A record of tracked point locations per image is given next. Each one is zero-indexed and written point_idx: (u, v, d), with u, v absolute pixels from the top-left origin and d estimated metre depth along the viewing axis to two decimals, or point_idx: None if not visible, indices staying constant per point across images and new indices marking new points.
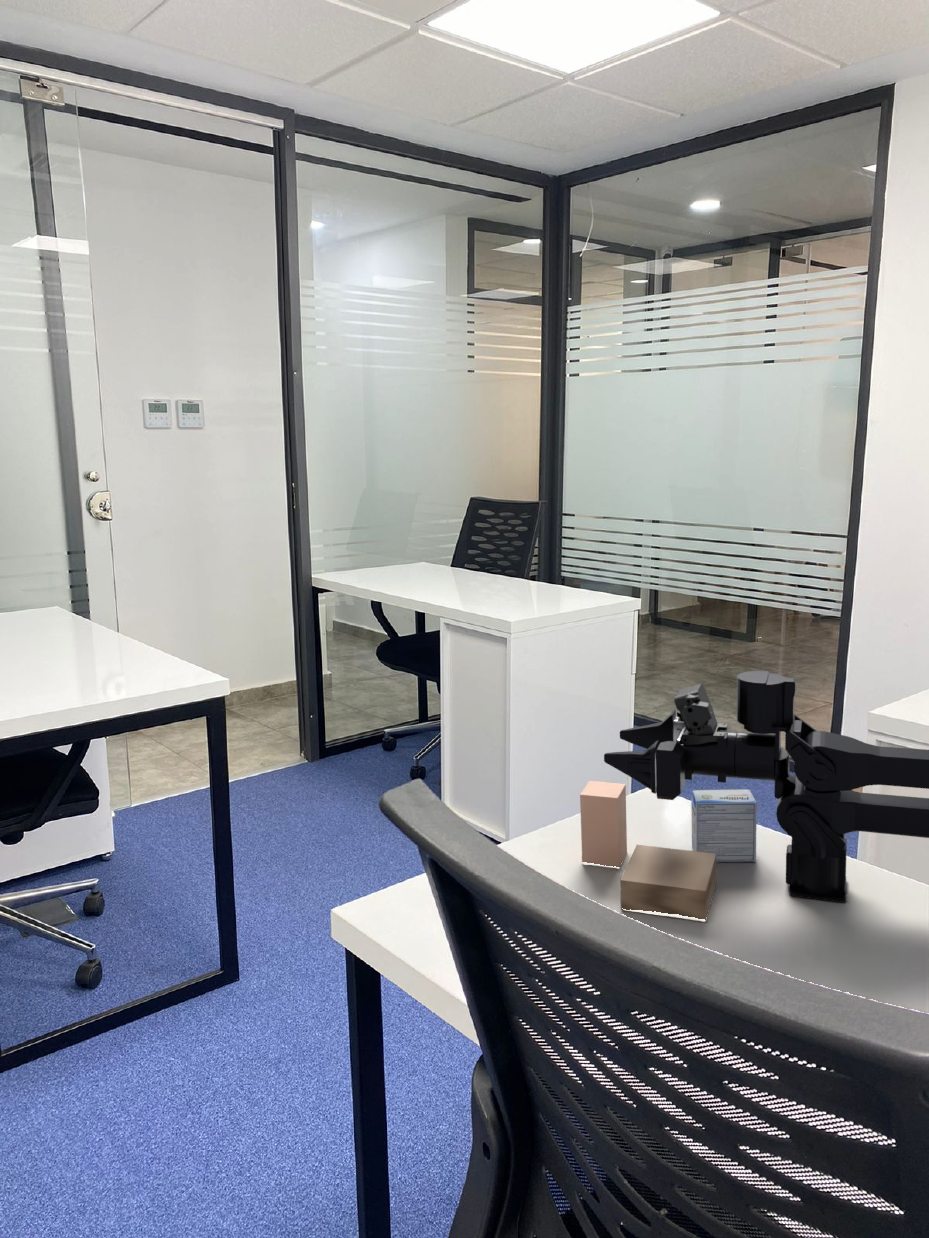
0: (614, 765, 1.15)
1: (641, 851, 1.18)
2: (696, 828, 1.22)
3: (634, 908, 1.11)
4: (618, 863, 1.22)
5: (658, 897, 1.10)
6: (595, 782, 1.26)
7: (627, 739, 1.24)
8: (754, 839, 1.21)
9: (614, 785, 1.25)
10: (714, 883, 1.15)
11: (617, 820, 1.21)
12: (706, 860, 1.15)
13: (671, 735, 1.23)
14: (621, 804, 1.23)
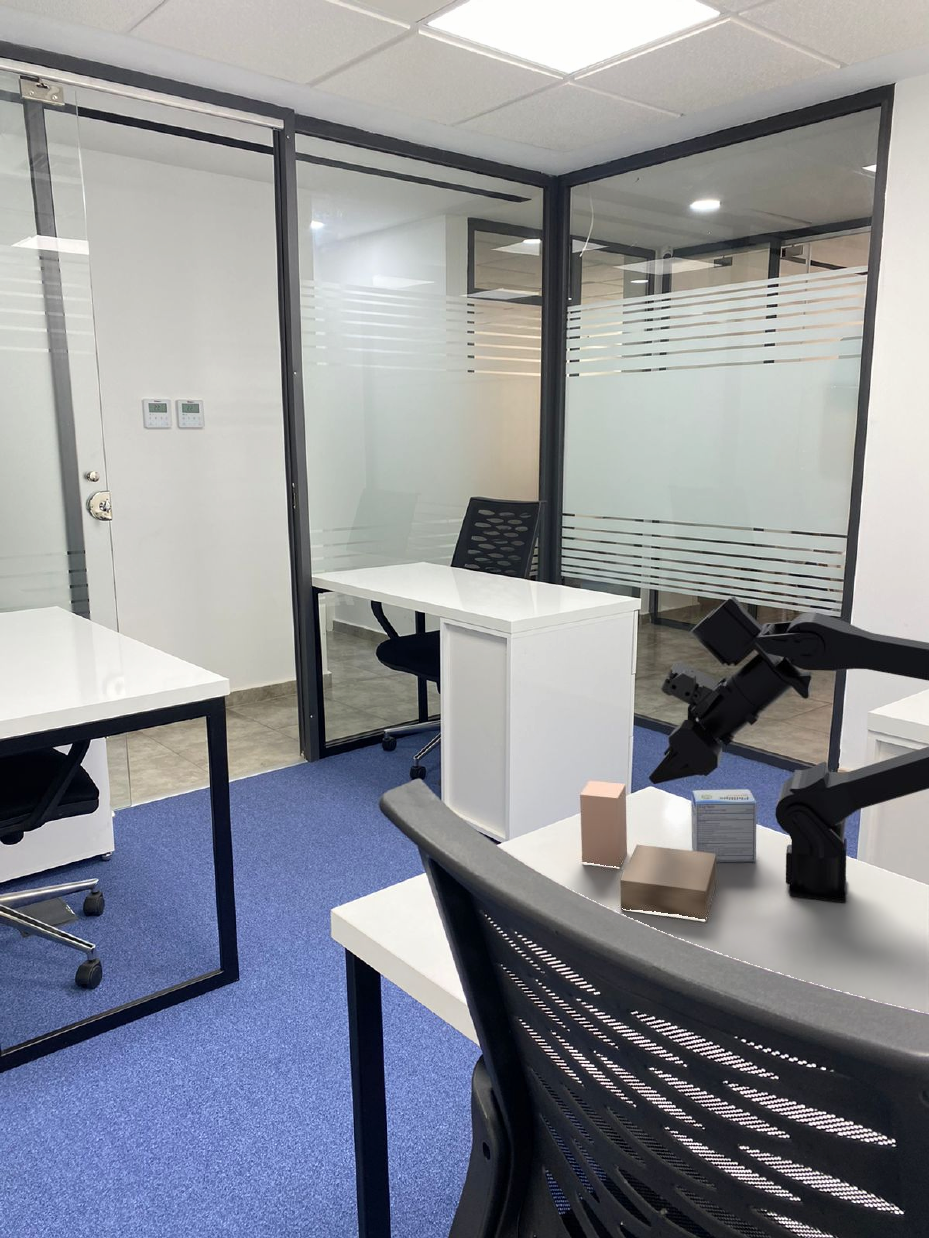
0: (662, 780, 1.14)
1: (641, 851, 1.18)
2: (696, 828, 1.22)
3: (634, 908, 1.11)
4: (618, 863, 1.22)
5: (658, 897, 1.10)
6: (595, 782, 1.26)
7: None
8: (754, 839, 1.21)
9: (614, 785, 1.25)
10: (714, 883, 1.15)
11: (617, 820, 1.21)
12: (706, 860, 1.15)
13: None
14: (621, 804, 1.23)
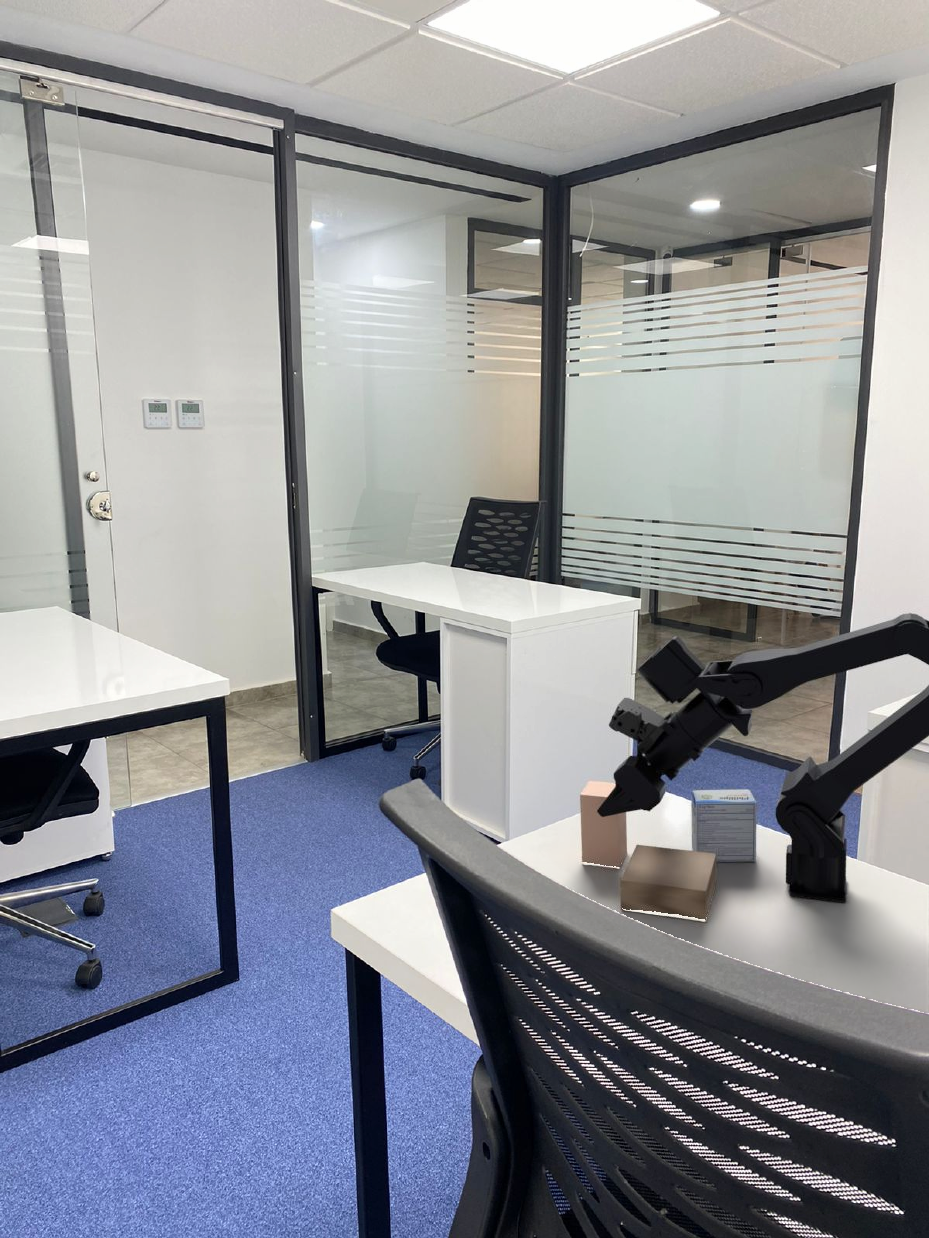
0: (609, 813, 1.18)
1: (641, 851, 1.18)
2: (696, 828, 1.22)
3: (634, 908, 1.11)
4: (618, 863, 1.22)
5: (658, 897, 1.10)
6: (595, 782, 1.26)
7: None
8: (754, 839, 1.21)
9: (613, 784, 1.25)
10: (714, 883, 1.15)
11: (617, 820, 1.21)
12: (706, 860, 1.15)
13: None
14: None
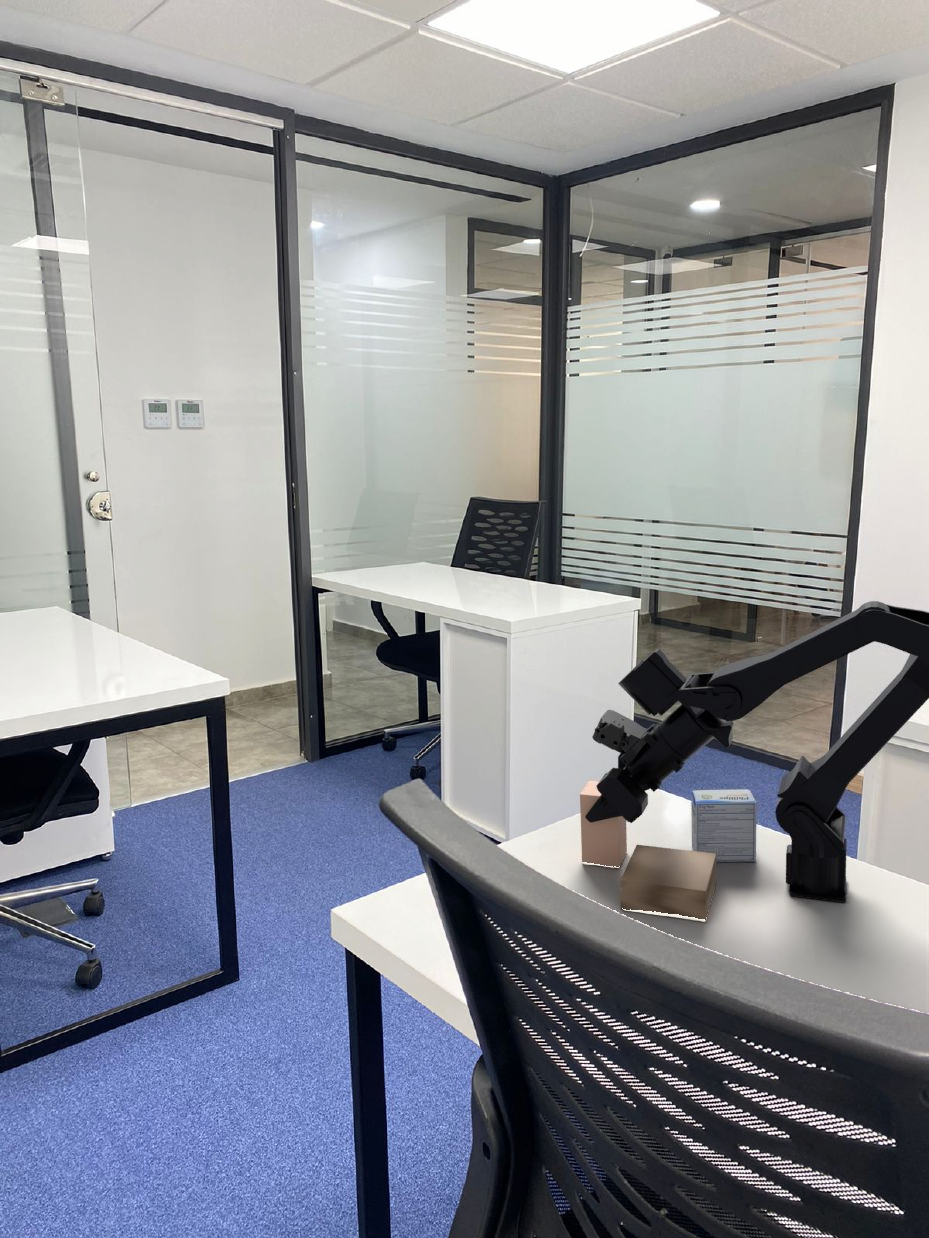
0: (597, 819, 1.21)
1: (641, 851, 1.18)
2: (696, 828, 1.22)
3: (634, 908, 1.11)
4: (618, 863, 1.22)
5: (658, 897, 1.10)
6: (595, 782, 1.26)
7: None
8: (754, 839, 1.21)
9: None
10: (714, 883, 1.15)
11: (617, 820, 1.21)
12: (706, 860, 1.15)
13: None
14: None
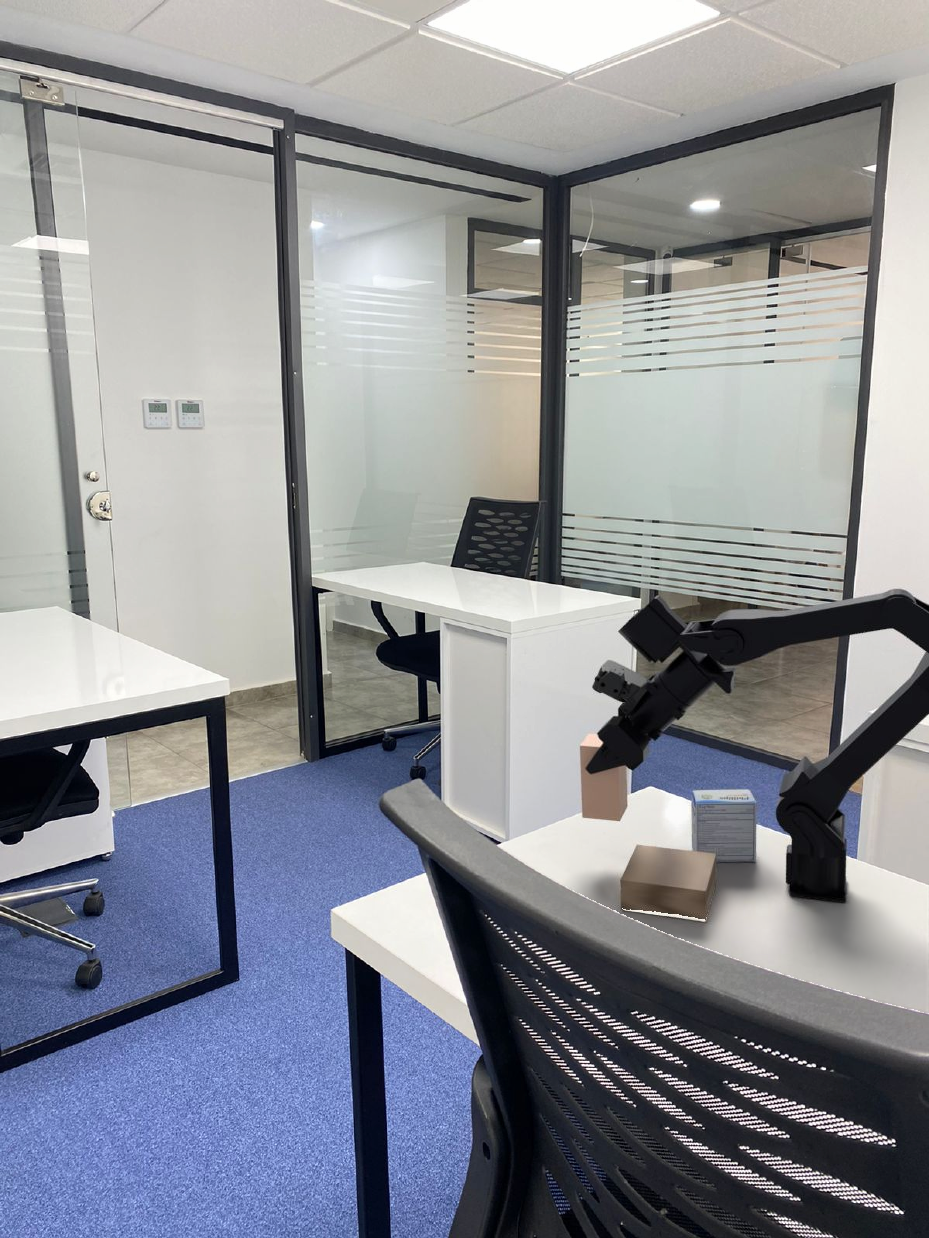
0: (598, 770, 1.19)
1: (641, 851, 1.18)
2: (696, 828, 1.22)
3: (634, 908, 1.11)
4: (619, 815, 1.20)
5: (658, 897, 1.10)
6: (595, 734, 1.24)
7: None
8: (754, 839, 1.21)
9: None
10: (714, 883, 1.15)
11: (617, 771, 1.19)
12: (706, 860, 1.15)
13: None
14: None
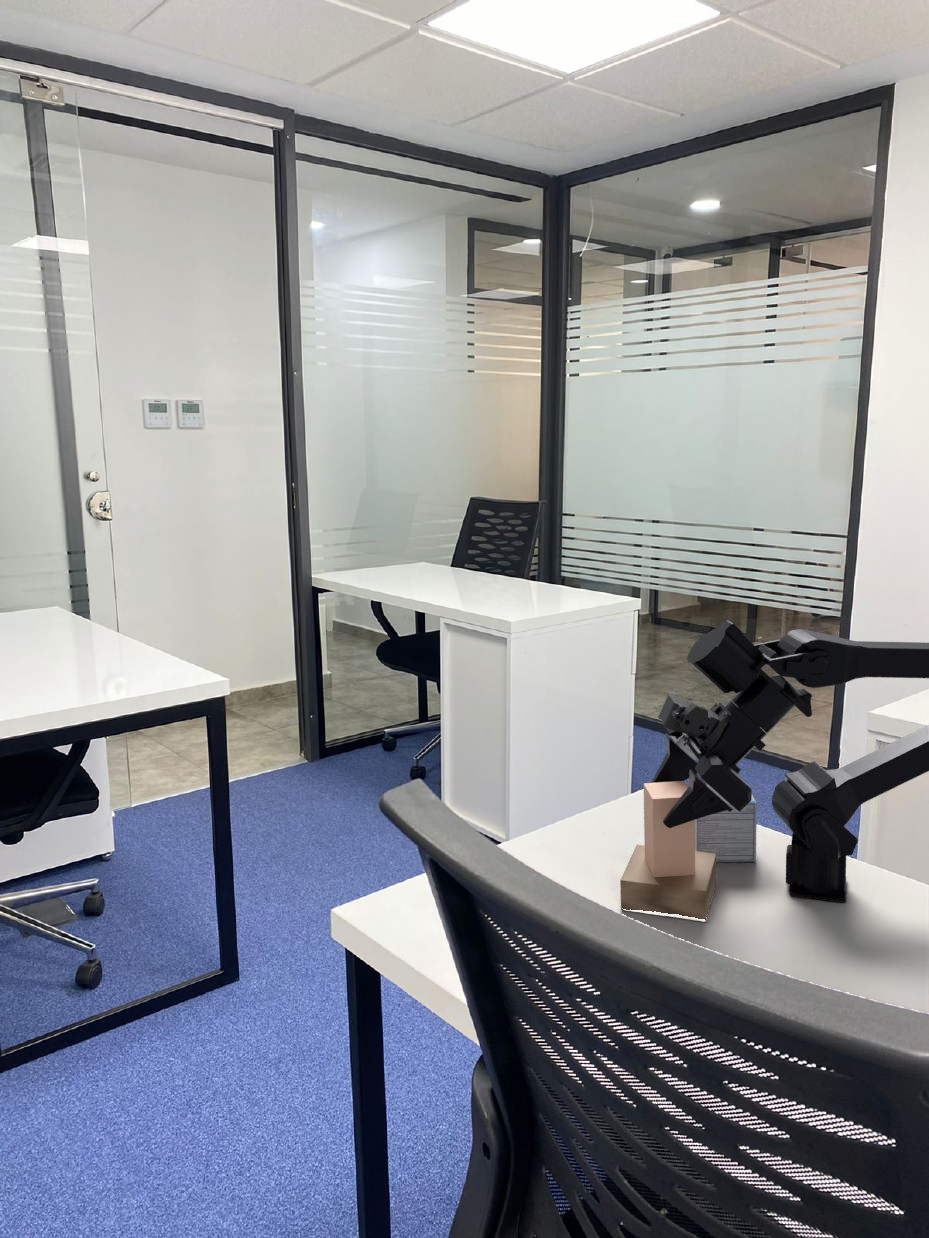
0: (679, 822, 1.07)
1: (641, 851, 1.18)
2: (696, 828, 1.22)
3: (634, 908, 1.11)
4: (694, 868, 1.11)
5: (658, 897, 1.10)
6: (651, 784, 1.14)
7: None
8: (754, 839, 1.21)
9: (673, 783, 1.13)
10: (714, 883, 1.15)
11: (693, 821, 1.10)
12: (706, 860, 1.15)
13: (685, 754, 1.16)
14: None
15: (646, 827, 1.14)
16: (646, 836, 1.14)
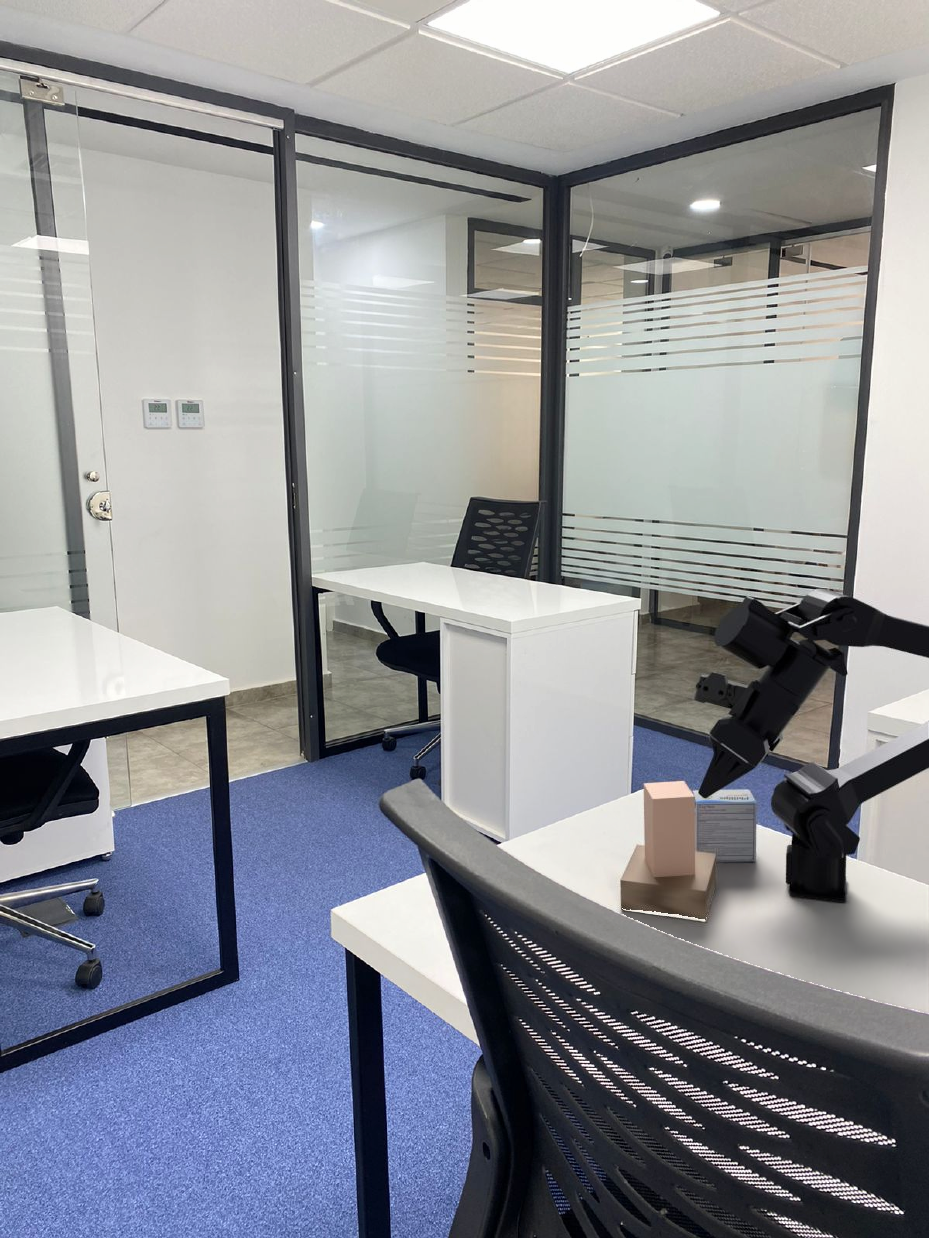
0: (712, 790, 1.07)
1: (641, 851, 1.18)
2: (696, 828, 1.22)
3: (634, 908, 1.11)
4: (694, 868, 1.11)
5: (658, 897, 1.10)
6: (651, 784, 1.14)
7: None
8: (754, 839, 1.21)
9: (673, 783, 1.13)
10: (714, 883, 1.15)
11: (693, 821, 1.10)
12: (706, 860, 1.15)
13: None
14: None
15: (646, 827, 1.14)
16: (646, 836, 1.14)
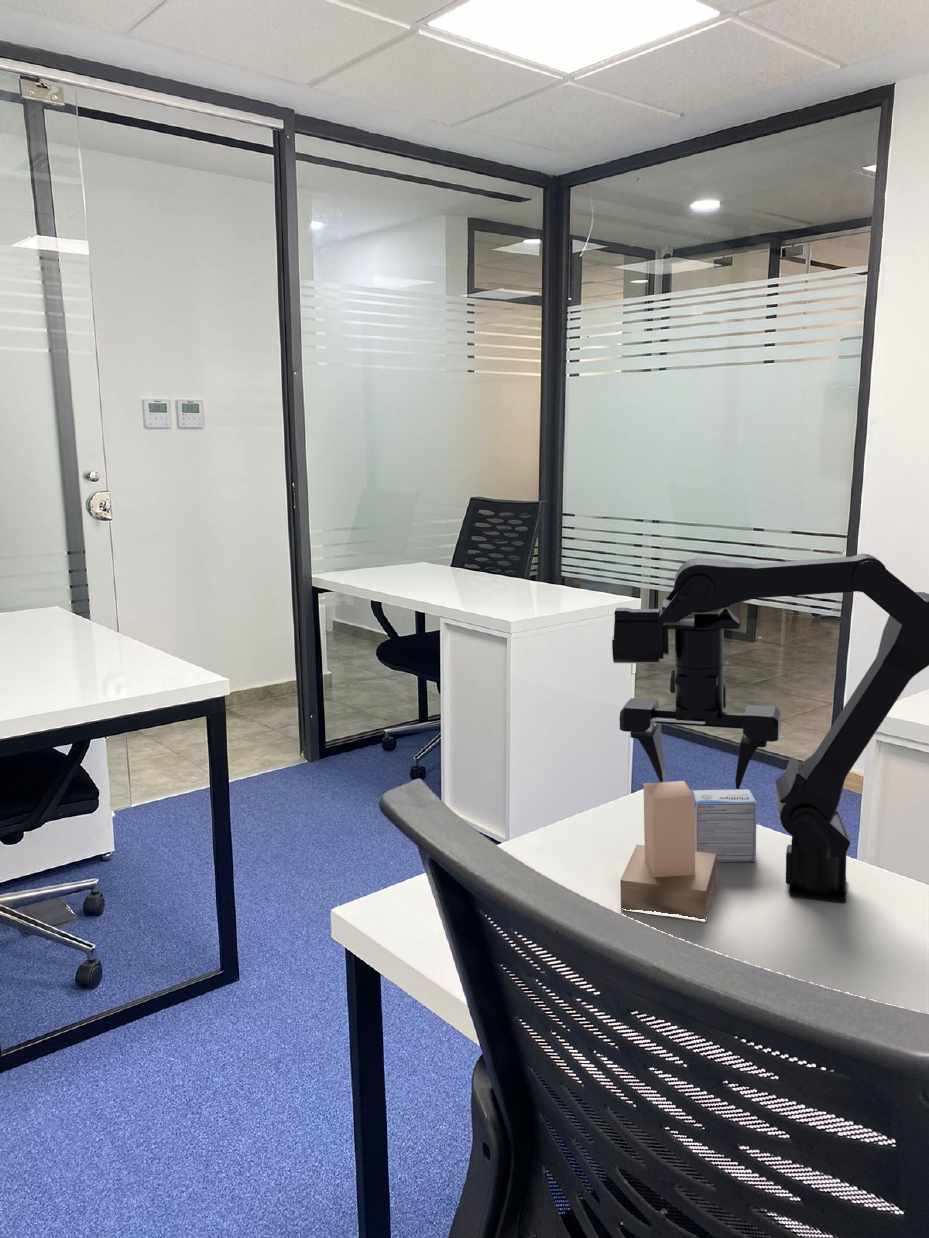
0: (656, 772, 1.16)
1: (641, 851, 1.18)
2: (696, 828, 1.22)
3: (634, 908, 1.11)
4: (694, 868, 1.11)
5: (658, 897, 1.10)
6: (651, 784, 1.14)
7: None
8: (754, 839, 1.21)
9: (673, 783, 1.13)
10: (714, 883, 1.15)
11: (693, 821, 1.10)
12: (706, 860, 1.15)
13: (742, 735, 1.12)
14: None
15: (646, 827, 1.14)
16: (646, 836, 1.14)
